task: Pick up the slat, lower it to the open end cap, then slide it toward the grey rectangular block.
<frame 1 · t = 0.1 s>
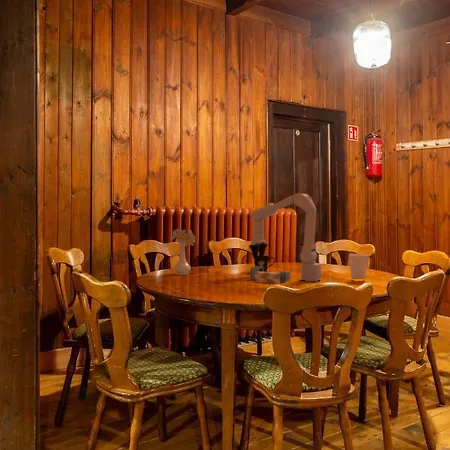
hand: (258, 257, 254), 10 cm above the table, tool pointing down, fingers open, 7 cm apart
flower vase: (183, 274, 262), on the table
slat: (267, 282, 234), on the table
coffee mug: (263, 273, 270), on the table
open end cap: (286, 281, 237), on the table
grey rectangular block: (256, 279, 244), on the table
foam cup: (358, 280, 241), on the table
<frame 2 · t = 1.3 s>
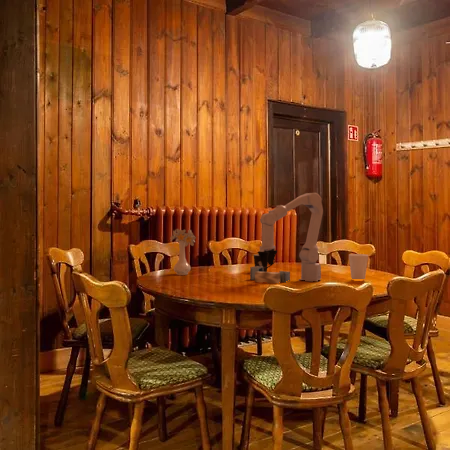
hand: (267, 265, 234), 8 cm above the table, tool pointing down, fingers open, 7 cm apart
nothing on the table moved.
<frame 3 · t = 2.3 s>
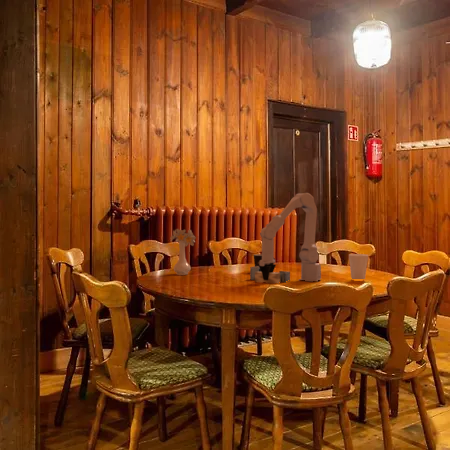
hand: (267, 279, 234), 1 cm above the table, tool pointing down, fingers closed on slat, 4 cm apart
slat: (267, 282, 234), on the table, touching gripper
everything else where it was.
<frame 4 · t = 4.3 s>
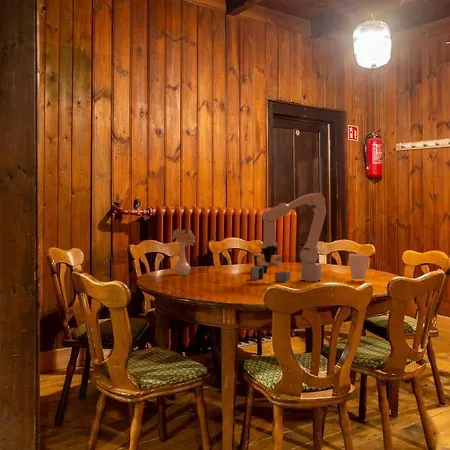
hand: (269, 261, 236), 10 cm above the table, tool pointing down, fingers closed on slat, 3 cm apart
slat: (269, 265, 236), point 8 cm above the table, touching gripper
everything else where it was.
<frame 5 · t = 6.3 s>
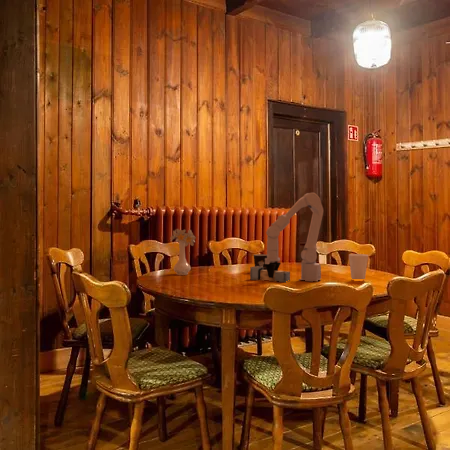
hand: (272, 277, 240), 2 cm above the table, tool pointing down, fingers closed on slat, 3 cm apart
slat: (272, 280, 240), on the table, touching gripper
everything else where it was.
when the fingers open (2 cm above the table, at t = 7.1 s): slat stays where it is, on the table.
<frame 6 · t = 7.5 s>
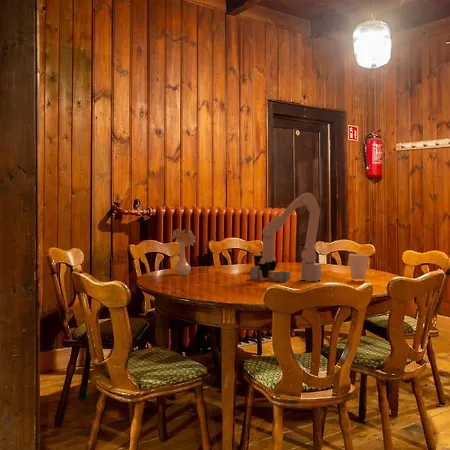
hand: (268, 276, 241), 2 cm above the table, tool pointing down, fingers open, 7 cm apart
slat: (268, 280, 241), on the table
everything else where it was.
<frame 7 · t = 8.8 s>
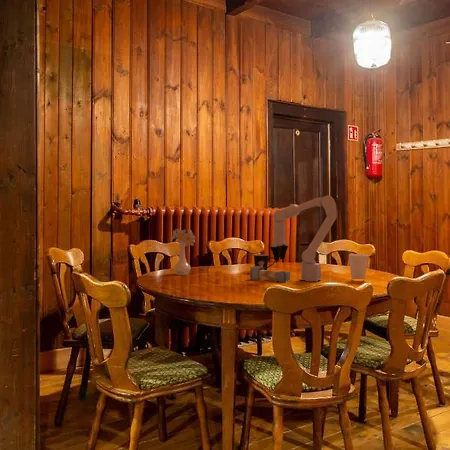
hand: (279, 260, 244), 10 cm above the table, tool pointing down, fingers open, 7 cm apart
nothing on the table moved.
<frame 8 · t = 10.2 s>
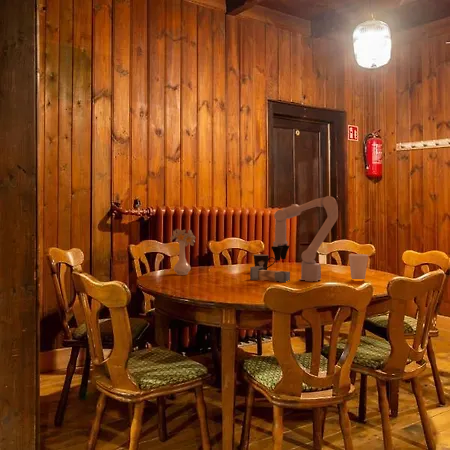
hand: (280, 259, 245), 10 cm above the table, tool pointing down, fingers open, 7 cm apart
nothing on the table moved.
at the end: slat 0.9 cm from the target spot on the table beside the grey rectangular block, on the table; slat tilted 0°; the gripper is holding nothing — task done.
